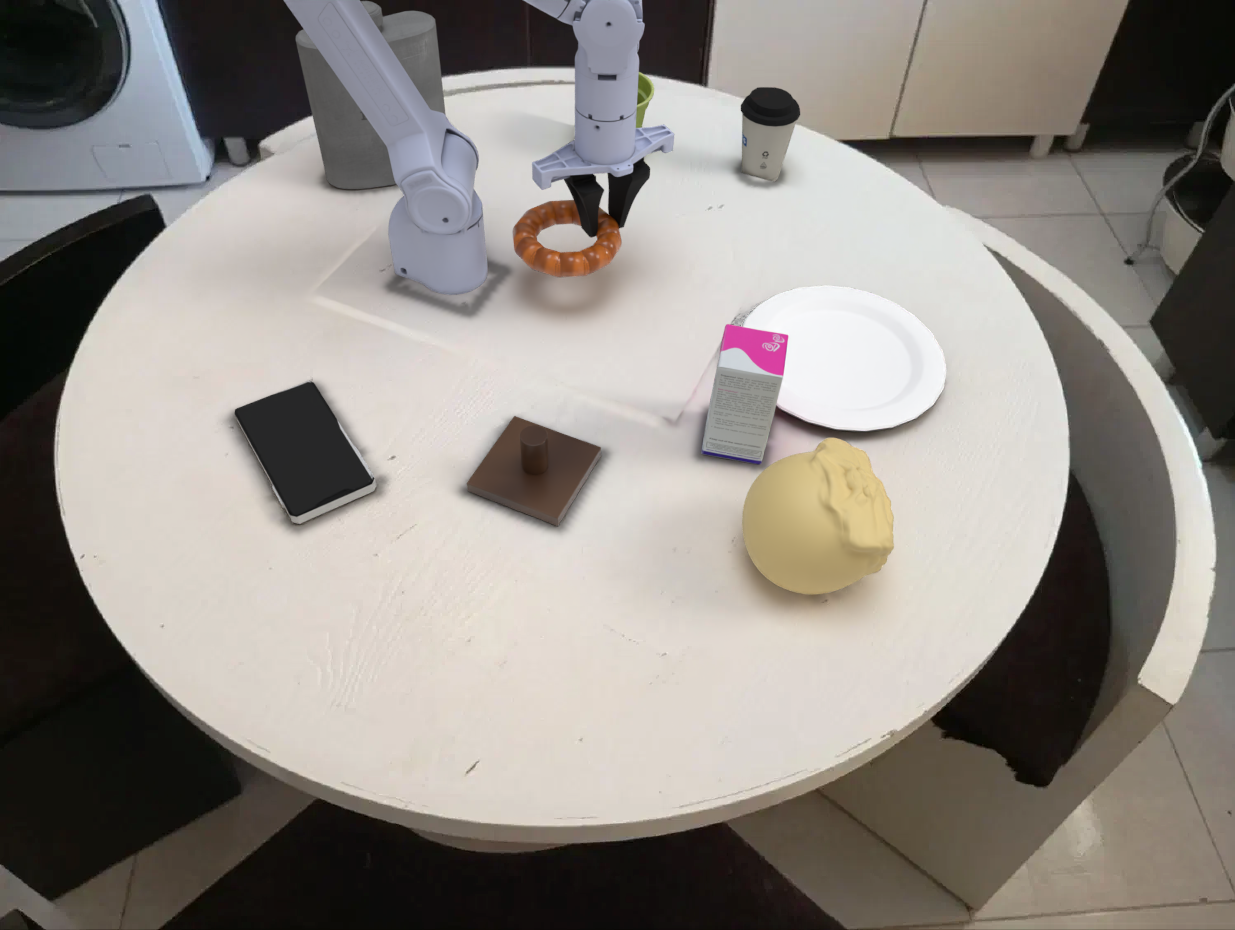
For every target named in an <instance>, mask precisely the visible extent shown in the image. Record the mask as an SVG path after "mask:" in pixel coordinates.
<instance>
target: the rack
mask: <svg viewBox="0 0 1235 930" xmlns="http://www.w3.org/2000/svg"><path fill="white" fill-rule="evenodd" d="M601 457H602V447H601V446H599V445H596V444H593V443H590V442H588V441H585V440H581V439H580V438H577V437H574V436H572V435H568V434H565V433H562V432H560V431H557V430H555V429H551V428H549V427H547V426H543V425H541V424H538V423H535V422H533V421H530V420H527V419H524V418H522V417H518V416H516V415H514V416H513V417H512V419H510V422H509V423H508V424H507V426H506V427H505V428H504V430H503V431H502V433H500V435H499V437H498V438H497V440H496V441H495V443H494V444H493V445H492V446H491V448H490V449H489V451H488V452H487V454H486V455H485V456H484V458H483V459H482V461H481V462H480V463H479V465H478V466H477V468H476V469H475V470H474V472H473V473H472V475H471V476H470V478H469V479H468V480H467V482H466V488H467V489H466V490H467V492H468V493H471V494H473V495H476V496H479V497H480V498H481V497H482V498H484V499H487V500H490V501H493V502H495V503H497V504H500V505H502V506H505V507H508V508H510V509H513V510H515V511H517V512H520V513H523V514H525V515H528V516H531V517H533V518H536V519H538V520H540V521H543V522H546V523H548V524H551V525H554V526H556V527H558V526H559V525H560V524H561V521H562V520H563V519H564V517H565V515H566V514H567V512H568V510H569V509H570V507H571V506H572V504H573V502H574V501H575V499H576V497H577V496H578V494H579V492H580V491H581V489H582V487H584V484H585V483H586V481H587V479H588V478H589V476H590V474H591V473H592V471H593V469H594V468H595V466H596V464H597V463H598V461H599V460H600V458H601Z"/></svg>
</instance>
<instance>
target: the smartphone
mask: <svg viewBox="0 0 1235 930" xmlns="http://www.w3.org/2000/svg"><path fill="white" fill-rule="evenodd" d="M234 417H235V419H236V422H237V423H238V425H239V427H240V429H241V430H242V433H243V435H244V436H245V438H246V440H247V442H248V443H249V445H250V447H251V449H252V451H253V453H254V455H255V456H256V458H257V460H258V461H259V463H260V465H261V467H262V469H263V471H264V473H265V474H266V476H267V478H268V479H269V480H268V481H269V482H270V484H271V488H272V491H273V492H274V494H275V496H276V498H277V500H278V502H279V503H280V506H281V507H282V508H283V509H285V511H286V513H287V514H288V517H289V519H290V520H291V522H292V523H294V524H299V525H300V524H302V523H306V522H307V521H309V520H312V519H314V518H316V517H319V516H320V515H323V514H325V513H328V512H329V511H332V510H334V509H337V508H339V507H341V506H343V505H346V504H347V503H350V502H353V501H355V500H357V499H360V498H362V497H363V496H366V495H368V494H370V493H373V492H375V489H376V487H377V483H376V477H375V475H374V473H373V472H372V470H371V469H370V467H369V465H368V463H367V462H366V460H365V458H364V457H363V456H362V454H361V453H360V451H359V449H358V448H357V446H355V445H354V444H353V442H352V441H351V439H350V437H349V436H348V434H347V433H346V431H345V429H344V427H343V426H342V425H341V423H340V422H339V420H338V419H337V417H336V415H335V414H334V412H333V410H332V409H331V407H330V406H329V404H328V403H327V401H326V399H325V398H324V396H323V395H322V392H320V390H319V388H318V387H317V385H316V384H315V382H314V381H312V380H306V381H304V382H301V383H299V384H296V385H293V386H291V387H288V388H285V389H283V390H281V391H278V392H275V393H272V394H270V395H268V396H264V397H261V398H259V399H257V400H254V401H252V402H249V403H247V404H244V405H242V406H239V407H236V408H235V409H234Z"/></svg>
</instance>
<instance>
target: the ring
mask: <svg viewBox="0 0 1235 930" xmlns="http://www.w3.org/2000/svg"><path fill="white" fill-rule="evenodd" d="M556 225H557V226H558V225H575V226H579V227H581V222H580V218H579V214H578V211H577V207H576V204H575V202H574V199H565V200H563V199H561V200H560V199H559V200H548V201H546V202H544V203H541V204H539V205H537V206H533V207H532V208H530V209H527V210H526V211H525V212H524V213H523V214H522V216H521V217H520V218H519V220H518V221H517V222H516V223H515V224H514V226H513V228H512V243H513V250H514V252H515V254H516V256H517V257H519V259H521V260H522V261H523V262H524V263H525V264H526V265H527V266H528V267H529V268H530V269H531V270H533V271H536V272H538V273H539V272H540V273H542V274H546V275H549V276H552V277H556V278H573V277H574V278H575V277H586V276H588V275H591V274H592V273H595V272H597V271H599V270H602V269H604V268H606V267H608V266H609V265H610V264H611V263H612V261H613V260H614V259H615V257H616V255H617V254H618V253H619V251H620V249H621V247H622V243H623V242H622V237H621V231H620V229H619V226H618V223H617V221H616V220H615V219H614V218H612V217H611V216H610V215H609V213H608V212H606V210H604V209H603V208H602V207H601V206H599V211H598V231H597V234H596V236H595V237H596V240H595V242H594V243H593V244H592V245H590V246H587V247H586V248H584V249H581V250H576V251H574V250H573V251H559V250H556V249H555V250H554V249H552V248H549V247H548V248H547V247H545V246H544V245H543V244H542V243H541V242H539V241H538V236H539V235H540V233H541V232H542V231H544V230H546V229H548V228H551V227H553V226H556Z"/></svg>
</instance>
